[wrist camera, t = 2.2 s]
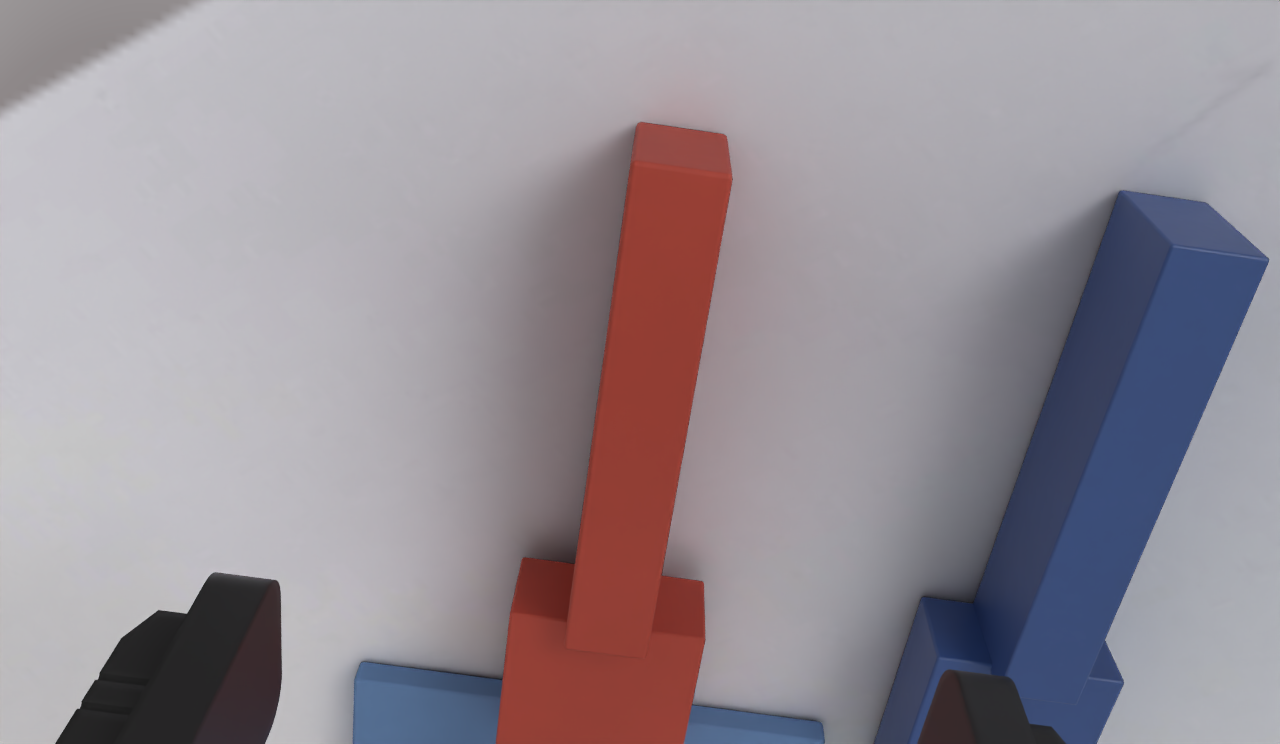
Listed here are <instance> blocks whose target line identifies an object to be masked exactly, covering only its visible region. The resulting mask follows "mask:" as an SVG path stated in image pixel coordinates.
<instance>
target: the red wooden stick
mask: <svg viewBox="0 0 1280 744" xmlns="http://www.w3.org/2000/svg"><path fill="white" fill-rule="evenodd" d="M731 185H732V171H731V164H730V156H729V148H728V141H727V136H725V135H724V134H718V133H712V132H705V131H698V130H691V129H684V128H678V127H671V126H664V125H657V124H650V123H643V122H641V123H638V124H637V126H636V130H635V137H634V143H633V150H632V156H631V163H630V170H629V177H628V184H627V191H626V199H625V206H624V213H623V220H622V228H621V235H620V242H619V249H618V256H617V264H616V271H615V278H614V285H613V293H612V300H611V307H610V314H609V321H608V329H607V336H606V343H605V350H604V358H603V365H602V372H601V379H600V386H599V394H598V401H597V408H596V415H595V423H594V430H593V437H592V444H591V451H590V459H589V466H588V473H587V480H586V488H585V495H584V502H583V509H582V517H581V524H580V531H579V538H578V545H577V553H576V560H575V564H571V563H564V562H557V561H549V560H542V559H534V558H527V557H523V558H522V560H521V565H520V570H519V574H518V579H517V583H516V588H515V593H514V597H513V602H512V606H511V611H510V618H509V627H508V636H507V645H506V654H505V663H504V672H503V681H502V690H501V699H500V708H499V717H498V726H497V735H496V744H684V741H685V736H686V731H687V726H688V721H689V717H690V712H691V707H692V702H693V697H694V692H695V687H696V683H697V678H698V673H699V668H700V663H701V658H702V653H703V649H704V644H705V607H704V583H703V582H702V581H697V580H690V579H682V578H675V577H668V576H661V575H662V570H663V564H664V559H665V553H666V547H667V542H668V536H669V531H670V525H671V520H672V514H673V508H674V503H675V497H676V492H677V486H678V481H679V475H680V469H681V464H682V458H683V453H684V447H685V442H686V436H687V430H688V425H689V419H690V414H691V408H692V402H693V397H694V391H695V386H696V380H697V375H698V369H699V363H700V358H701V352H702V347H703V341H704V336H705V330H706V324H707V319H708V313H709V308H710V302H711V297H712V291H713V285H714V280H715V274H716V269H717V263H718V257H719V252H720V246H721V241H722V235H723V230H724V224H725V218H726V213H727V207H728V202H729V196H730V191H731Z"/></svg>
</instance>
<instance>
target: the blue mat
mask: <svg viewBox="0 0 1280 744" xmlns="http://www.w3.org/2000/svg"><path fill="white" fill-rule="evenodd" d="M502 681H503V680H499V679H491V678H483V677H476V676H468V675H461V674H453V673H445V672H438V671H430V670H423V669H415V668H408V667H400V666H392V665H385V664H377V663H370V662H361V664H360V666H359V668H358V671H357V674H356V677H355V679H354V714H353V744H496V735H497V726H498V717H499V708H500V699H501V690H502ZM824 743H825V739H824V731H823V725H822V723H821V722H817V721H810V720H802V719H794V718H787V717H779V716H772V715H764V714H756V713H749V712H741V711H734V710H726V709H719V708H711V707H703V706H696V705H692V707H691V712H690V717H689V721H688V726H687V731H686V736H685V741H684V744H824Z"/></svg>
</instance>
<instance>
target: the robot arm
mask: <svg viewBox="0 0 1280 744" xmlns="http://www.w3.org/2000/svg"><path fill="white" fill-rule="evenodd" d="M281 680H282V656H281V592H280V586H279V583H278V581H276V580H271V579H263V578H255V577H247V576H240V575H232V574H224V573H216V572H215V573H213V574H211V575H210V576H209V577H208V579H207V580H206V582H205V583H204V585H203V587H202V589H201V590H200V592H199V594H198V596H197V597H196V599H195V601H194V603H193V605H192V606H191V608H190V610H189V612H188V613H187V614H184V613H176V612H168V611H160V610H158V611H157V612H155V613H154V614H153V615H152V616H150V617H149V618H148V619H146V620H145V621H144V622H142V623H141V624H140V625H138V626H137V627H136V628H134V629H133V630H132V631H130V632H129V633H128V634H126V635H125V636H124V637H122V638H121V640H120V641H119V643H118V644H117V646H116V648H115V649H114V651H113V652H112V654H111V656H110V657H109V659H108V660H107V662H106V664H105V665H104V667H103V668H102V670H101V672H100V675H99V679H98V680H95V681H94V683H93V684H92V686H91V687H90V689H89V691H88V692H87V694H86V695H85V697H84V699H83V700H82V704H81V707H80V709H77V710H76V711H75V713H74V714H73V716H72V718H71V719H70V721H69V722H68V724H67V726H66V727H65V729H64V730H63V732H62V734H61V735H60V737H59V738H58V740H57V742H56V743H55V744H265V742H266V740H267V737H268V735H269V733H270V730H271V727H272V725H273V721H274V718H275V715H276V711H277V706H278V702H279V696H280V690H281ZM917 744H1066V743H1065V742H1064V741H1063V739H1062V738H1061V737H1060V736H1059V735H1058V733H1057V732H1056V731H1055V730H1054V729H1053V728H1052V726H1044V725H1036V724H1029V721H1028V719H1027V716H1026V713H1025V710H1024V707H1023V705H1022V702H1021V699H1020V696H1019V693H1018V690H1017V688H1016V686H1015V684H1014V682H1013V680H1012V679H1011V678H1009V677H1006V676H998V675H990V674H982V673H975V672H967V671H959V670H951V669H948V670H946V671H945V672H944V673H943V674H942V676H941V678H940V680H939V682H938V685H937V688H936V691H935V694H934V697H933V700H932V702H931V705H930V708H929V711H928V714H927V717H926V719H925V722H924V725H923V728H922V731H921V734H920V737H919V739H918V742H917Z"/></svg>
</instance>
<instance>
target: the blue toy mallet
mask: <svg viewBox="0 0 1280 744" xmlns="http://www.w3.org/2000/svg"><path fill="white" fill-rule="evenodd" d="M1268 262H1269V258H1268V257H1266V256H1265V255H1264V254H1263V253H1262V252H1261V251H1260V250H1259V249H1258V248H1256V247H1255V246H1254V245H1253V244H1252V243H1251V242H1250V241H1249V240H1248V239H1246V238H1245V237H1244V236H1243V235H1242V234H1241V233H1240V232H1239V231H1238V230H1236V229H1235V228H1234V227H1233V226H1232V225H1231V224H1230V223H1229V222H1227V221H1226V220H1225V219H1224V218H1223V217H1222V216H1221V215H1220V214H1219V213H1217V212H1216V211H1215V210H1214V209H1213V208H1212V207H1211V206H1210V205H1209V204H1207V203H1205V202H1198V201H1191V200H1185V199H1178V198H1171V197H1164V196H1157V195H1151V194H1144V193H1137V192H1130V191H1120V192H1119V194H1118V197H1117V200H1116V203H1115V205H1114V208H1113V211H1112V214H1111V217H1110V219H1109V222H1108V225H1107V228H1106V231H1105V234H1104V236H1103V239H1102V242H1101V245H1100V248H1099V250H1098V253H1097V256H1096V259H1095V262H1094V265H1093V267H1092V270H1091V273H1090V276H1089V279H1088V281H1087V284H1086V287H1085V290H1084V293H1083V296H1082V298H1081V301H1080V304H1079V307H1078V310H1077V312H1076V315H1075V318H1074V321H1073V324H1072V327H1071V329H1070V332H1069V335H1068V338H1067V341H1066V343H1065V346H1064V349H1063V352H1062V355H1061V358H1060V360H1059V363H1058V366H1057V369H1056V372H1055V374H1054V377H1053V380H1052V383H1051V386H1050V389H1049V391H1048V394H1047V397H1046V400H1045V403H1044V405H1043V408H1042V411H1041V414H1040V417H1039V420H1038V422H1037V425H1036V428H1035V431H1034V434H1033V436H1032V439H1031V442H1030V445H1029V448H1028V451H1027V453H1026V456H1025V459H1024V462H1023V465H1022V467H1021V470H1020V473H1019V476H1018V479H1017V482H1016V484H1015V487H1014V490H1013V493H1012V496H1011V498H1010V501H1009V504H1008V507H1007V510H1006V513H1005V515H1004V518H1003V521H1002V524H1001V527H1000V529H999V532H998V535H997V538H996V541H995V544H994V546H993V549H992V552H991V555H990V558H989V560H988V563H987V566H986V569H985V572H984V575H983V577H982V580H981V583H980V586H979V589H978V591H977V594H976V597H975V600H974V603H965V602H958V601H950V600H943V599H936V598H928V597H922V598H921V601H920V604H919V607H918V610H917V613H916V616H915V619H914V622H913V626H912V629H911V632H910V635H909V638H908V641H907V644H906V647H905V650H904V653H903V656H902V659H901V662H900V665H899V668H898V672H897V675H896V678H895V681H894V684H893V687H892V690H891V693H890V696H889V699H888V702H887V705H886V708H885V711H884V714H883V718H882V721H881V724H880V727H879V730H878V733H877V736H876V739H875V742H874V744H917V742H918V739H919V737H920V734H921V731H922V728H923V725H924V722H925V719H926V717H927V714H928V711H929V708H930V705H931V702H932V700H933V697H934V694H935V691H936V688H937V685H938V682H939V680H940V678H941V676H942V674H943V673H944V672H945V671H946V670H948V669H951V670H959V671H967V672H975V673H982V674H990V675H998V676H1006V677H1009V678H1011V679H1012V680H1013V682H1014V684H1015V686H1016V688H1017V690H1018V693H1019V696H1020V699H1021V702H1022V705H1023V707H1024V710H1025V713H1026V716H1027V719H1028V721H1029V724H1036V725H1044V726H1052V728H1053V729H1054V730H1055V731H1056V732H1057V733H1058V735H1059V736H1060V737H1061V738H1062V739H1063V741H1064V742H1065V743H1066V744H1097V742H1098V739H1099V737H1100V735H1101V733H1102V731H1103V728H1104V726H1105V724H1106V722H1107V720H1108V717H1109V715H1110V713H1111V711H1112V709H1113V706H1114V704H1115V702H1116V700H1117V698H1118V695H1119V693H1120V691H1121V689H1122V687H1123V684H1124V681H1123V679H1122V676H1121V674H1120V672H1119V670H1118V668H1117V665H1116V663H1115V661H1114V659H1113V657H1112V655H1111V652H1110V650H1109V648H1108V646H1107V644H1106V641H1105V638H1106V636H1107V633H1108V631H1109V629H1110V627H1111V624H1112V622H1113V620H1114V617H1115V615H1116V613H1117V610H1118V608H1119V606H1120V603H1121V601H1122V599H1123V597H1124V594H1125V592H1126V590H1127V587H1128V585H1129V583H1130V580H1131V578H1132V576H1133V574H1134V571H1135V569H1136V567H1137V564H1138V562H1139V560H1140V557H1141V555H1142V553H1143V550H1144V548H1145V546H1146V544H1147V541H1148V539H1149V537H1150V534H1151V532H1152V530H1153V527H1154V525H1155V523H1156V520H1157V518H1158V516H1159V514H1160V511H1161V509H1162V507H1163V504H1164V502H1165V500H1166V497H1167V495H1168V493H1169V491H1170V488H1171V486H1172V484H1173V481H1174V479H1175V477H1176V474H1177V472H1178V470H1179V467H1180V465H1181V463H1182V461H1183V458H1184V456H1185V454H1186V451H1187V449H1188V447H1189V444H1190V442H1191V440H1192V438H1193V435H1194V433H1195V431H1196V428H1197V426H1198V424H1199V421H1200V419H1201V417H1202V414H1203V412H1204V410H1205V408H1206V405H1207V403H1208V401H1209V398H1210V396H1211V394H1212V391H1213V389H1214V387H1215V385H1216V382H1217V380H1218V378H1219V375H1220V373H1221V371H1222V368H1223V366H1224V364H1225V361H1226V359H1227V357H1228V355H1229V352H1230V350H1231V348H1232V345H1233V343H1234V341H1235V338H1236V336H1237V334H1238V331H1239V329H1240V327H1241V325H1242V322H1243V320H1244V318H1245V315H1246V313H1247V311H1248V308H1249V306H1250V304H1251V302H1252V299H1253V297H1254V295H1255V292H1256V290H1257V288H1258V285H1259V283H1260V281H1261V278H1262V276H1263V274H1264V272H1265V269H1266V267H1267V265H1268Z"/></svg>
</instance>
